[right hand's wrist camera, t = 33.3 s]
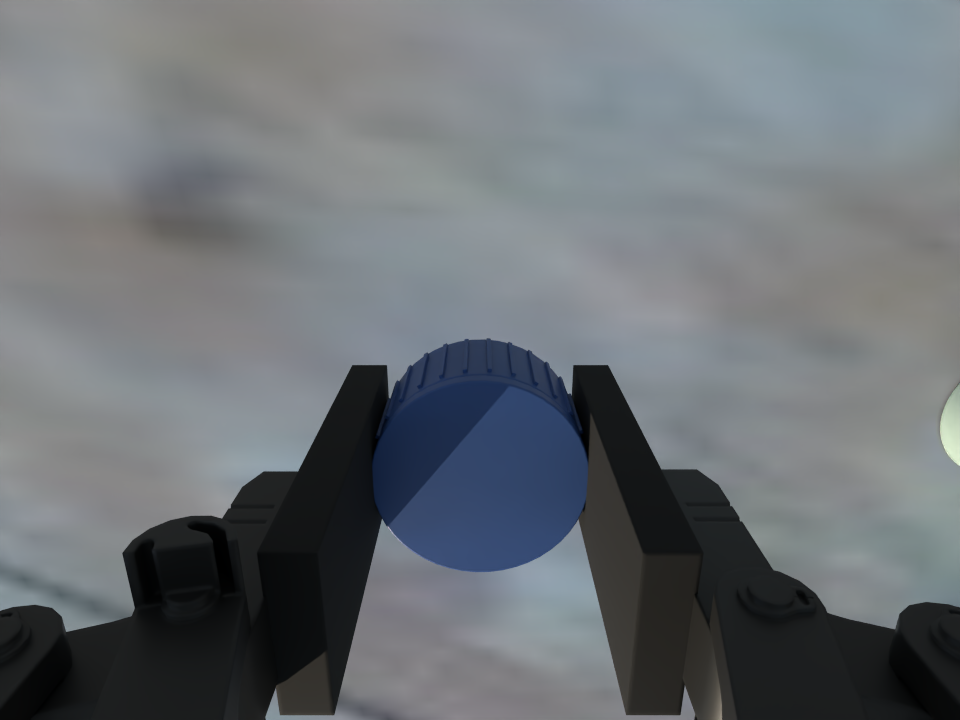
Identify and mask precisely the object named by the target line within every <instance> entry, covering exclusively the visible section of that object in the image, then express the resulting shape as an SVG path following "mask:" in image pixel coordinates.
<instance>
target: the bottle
mask: <svg viewBox="0 0 960 720" xmlns="http://www.w3.org/2000/svg"><path fill="white" fill-rule="evenodd" d="M940 434H941V440H942V443H943V446H944V448H945V450H946V452H947V454H948V455H949V456H950V458H951V459H952V460H953V461H954V462H955V463H957V464H958V465H959V466H960V383H959V384H958V386H957V387H956V388H955V389H954V391H953V392H952V394H951V395H950V397H949V399H948V401H947V403H946V405H945V407H944V410H943V413H942V417H941V423H940Z"/></svg>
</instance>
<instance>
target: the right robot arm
mask: <svg viewBox="0 0 960 720" xmlns="http://www.w3.org/2000/svg"><path fill="white" fill-rule="evenodd" d="M388 398H389V395H388V376H387V365H352V367H351V369H350V371H349V373H348V375H347V377H346V379H345V381H344V383H343V385H342V387H341V389H340V391H339V393H338V395H337V396H336V398H335V400H334V402H333V404H332V406H331V408H330V410H329V412H328V414H327V416H326V418H325V420H324V422H323V424H322V426H321V428H320V430H319V432H318V434H317V436H316V438H315V440H314V442H313V443H312V445H311V447H310V449H309V451H308V453H307V455H306V457H305V459H304V461H303V463H302V465H301V467H300V469H299V471H298V472H263V473H261V474H260V475H258V476H257V477H256V478H254V479H253V480H251V481H250V482H249V483H247V484H246V485H244V486H243V487H242V488H241V490H240V492H239V493H238V495H237V496H236V498H235V499H234V501H233V502H232V504H231V509H228V510H227V512H226V513H225V515H224V517H223V518H222V519H221V518H217V517H214V516H189V517H184V518H179V519H174V520H170V521H167V522H165V523H163V524H160V525H158V526H155V527H153V528H150V529H149V530H147V531H146V532H144V533H143V534H141V535H140V536H138V537H137V538H135V539H134V540H133V541H132V542H131V543H130V544H129V546H128V547H127V548H126V549H125V551H124V552H123V553H122V554H123V558H124V562H125V567H126V571H127V575H128V580H129V584H130V588H131V593H132V597H133V602H134V606H135V610H134V612H133V615H132V616H131V617H128V618H124V619H121V620H117V621H114V622H110V623H105V624H101V625H96V626H92V627H87V628H83V629H78V630H74V631H69V632H66V630H65V627H64V623H63V620H62V617H61V616H60V615H59V614H58V613H57V612H56V611H55V610H54V609H53V608H49V607H44V606H38V605H29V606H20V607H12V608H9V609H5V610H2V611H0V720H266V719H265V716H266V713H267V710H268V708H269V705H270V702H271V699H272V696H273V694H274V691H275V688H276V690H277V697H278V704H279V711H280V715H334V714H335V710H336V706H337V701H338V697H339V693H340V689H341V685H342V681H343V677H344V673H345V669H346V664H347V660H348V656H349V652H350V648H351V644H352V640H353V636H354V631H355V627H356V623H357V619H358V615H359V611H360V607H361V603H362V599H363V594H364V590H365V586H366V582H367V578H368V574H369V570H370V566H371V561H372V557H373V553H374V549H375V545H376V541H377V537H378V533H379V529H380V524H381V520H382V517H381V515H380V514H379V511H378V509H377V506H376V504H375V500H374V487H373V472H372V459H373V455H374V451H375V447H376V444H377V441H378V439H376V438H375V437H376V434H377V431H378V428H379V425H380V421H381V418H382V415H383V412H384V409H385V406H386V403H387V400H388ZM572 399H573V402H574V405H575V408H576V411H577V414H578V417H579V420H580V423H581V426H582V429H583V432H584V433H583V434H581V436H582V439H583V442H584V445H585V448H586V452H587V456H588V478H587V494H586V503H585V506H584V508H583V511H582V513H581V515H580V517H579V518H578V519H579V523H580V527H581V531H582V535H583V539H584V543H585V547H586V552H587V556H588V560H589V564H590V568H591V572H592V576H593V580H594V585H595V589H596V593H597V597H598V601H599V605H600V609H601V613H602V617H603V622H604V626H605V630H606V634H607V638H608V642H609V646H610V650H611V654H612V659H613V663H614V667H615V671H616V675H617V679H618V683H619V687H620V691H621V696H622V700H623V704H624V708H625V712H626V715H680V714H681V707H682V700H683V693H684V686H686V689H687V692H688V695H689V698H690V700H691V703H692V706H693V709H694V711H695V719H694V720H960V607H955V606H952V605H949V604H939V603H930V602H924V603H919V604H914V605H909V606H908V607H907V608H906V609H905V610H903V611H902V612H901V613H900V614H899V618H898V622H897V625H896V629H890V628H886V627H881V626H877V625H872V624H868V623H863V622H859V621H854V620H849V619H846V618H842V617H839V616H835V615H832V614H829V613H827V611H826V608H825V607H824V605H823V604H822V602H821V601H820V599H819V598H818V596H817V595H816V594H815V593H814V592H813V591H812V590H810V589H809V588H808V587H807V586H805V585H804V584H803V583H801V582H800V581H798V580H796V579H794V578H792V577H790V576H788V575H785V574H783V573H781V572H778V571H774V570H773V569H772V567H771V566H770V564H769V563H768V561H767V560H766V558H765V557H764V555H763V553H762V552H761V550H760V549H759V547H758V546H757V544H756V543H755V541H754V539H753V538H752V536H751V535H750V533H749V532H748V530H747V529H746V527H745V526H744V524H743V522H740V520H739V516H738V515H737V513H736V512H735V510H734V508H733V507H732V506H730V502H729V501H728V499H727V498H726V496H725V494H724V493H723V491H722V490H721V488H720V487H719V485H718V484H716V483H715V482H714V481H712V480H711V479H709V478H708V477H707V476H705V475H704V474H702V473H701V472H700V471H698V470H661V468H660V466H659V464H658V462H657V460H656V458H655V456H654V454H653V452H652V450H651V449H650V447H649V445H648V443H647V441H646V439H645V437H644V435H643V433H642V431H641V429H640V427H639V425H638V423H637V421H636V419H635V417H634V415H633V413H632V411H631V409H630V407H629V405H628V403H627V402H626V400H625V398H624V396H623V394H622V392H621V390H620V388H619V386H618V384H617V382H616V380H615V378H614V376H613V374H612V372H611V370H610V368H609V366H608V365H573V384H572Z"/></svg>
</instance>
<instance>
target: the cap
mask: <svg viewBox="0 0 960 720" xmlns="http://www.w3.org/2000/svg"><path fill="white" fill-rule="evenodd" d="M583 433H584V432H583V429H582V426H581V423H580V420H579V417H578V414H577V411H576V408H575V405H574V402H573V399H572V396H571V394H568V393H567V391H566V389H565V386H564V383H563V379H562V378H561V376H560V377H559V378H558V376H557V375H556V374H555V373H554V371H553V370H552V369H551V368H550V366H549V363H547V362H545V363H544V362H543V361H542V360H541V359H539V358H538V357H536V356H535V355H533V354H532V351H530V350H528V351H526V350H524V349H522V348H520V347H517V346H514V345H512V343H510V342H508V343H504V342H500V341H493V340H491V339H487V340H469V339H465V341H461V342H456V343H453V344H449V345H447V344H444V345H443V347H441V348H439V349H436V350H434V351H433V352H431V353H429V354H428V353H426V354H424V357H423V358H421V359H420V360H419V361H418V362H416V363H415V364H414V365H413V366H411V365H410V366H409V367H408V369H407V372H406V373H405V375H404V376H403V377H402V379H401V380H400V381H397V382H396V383H395V386H394V389H393V393H392V396H391V399H390V398H388V400H387V403H386V406H385V409H384V412H383V415H382V418H381V421H380V425H379V428H378V431H377V434H376V437H375V438H376V439H378V441H377V444H376V447H375V451H374V455H373V459H372V472H373V487H374V500H375V504H376V506H377V509H378V511H379V514H380V515H381V517H382V519H383V521H384V522H385V524H386V526H387V527H388V528H389V529H390V531H391V532H392V533H393V535H394V536H395V537H396V538H397V539H398V540H399V541H400V542H401V543H402V544H403V545H405V546H406V547H407V548H409V549H410V550H411V551H413V552H414V553H416V554H417V555H419V556H421V557H422V558H424V559H426V560H428V561H431V562H433V563H435V564H438V565H441V566H444V567H447V568H451V569H456V570H461V571H470V572H491V571H499V570H505V569H509V568H513V567H517V566H520V565H523V564H525V563H528V562H530V561H532V560H534V559H536V558H538V557H540V556H542V555H543V554H545V553H546V552H548V551H549V550H551V549H552V548H553V547H555V546H556V545H557V544H558V543H559V542H561V541H562V539H563V538H564V537H565V536H566V535H567V534H568V533H569V532H570V531H571V529H572V528H573V526H574V525H575V524H576V522H577V520H578V518H579V517H580V515H581V513H582V511H583V508H584V506H585V503H586V494H587V478H588V456H587V452H586V448H585V445H584V442H583V439H582V436H581V434H583Z"/></svg>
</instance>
